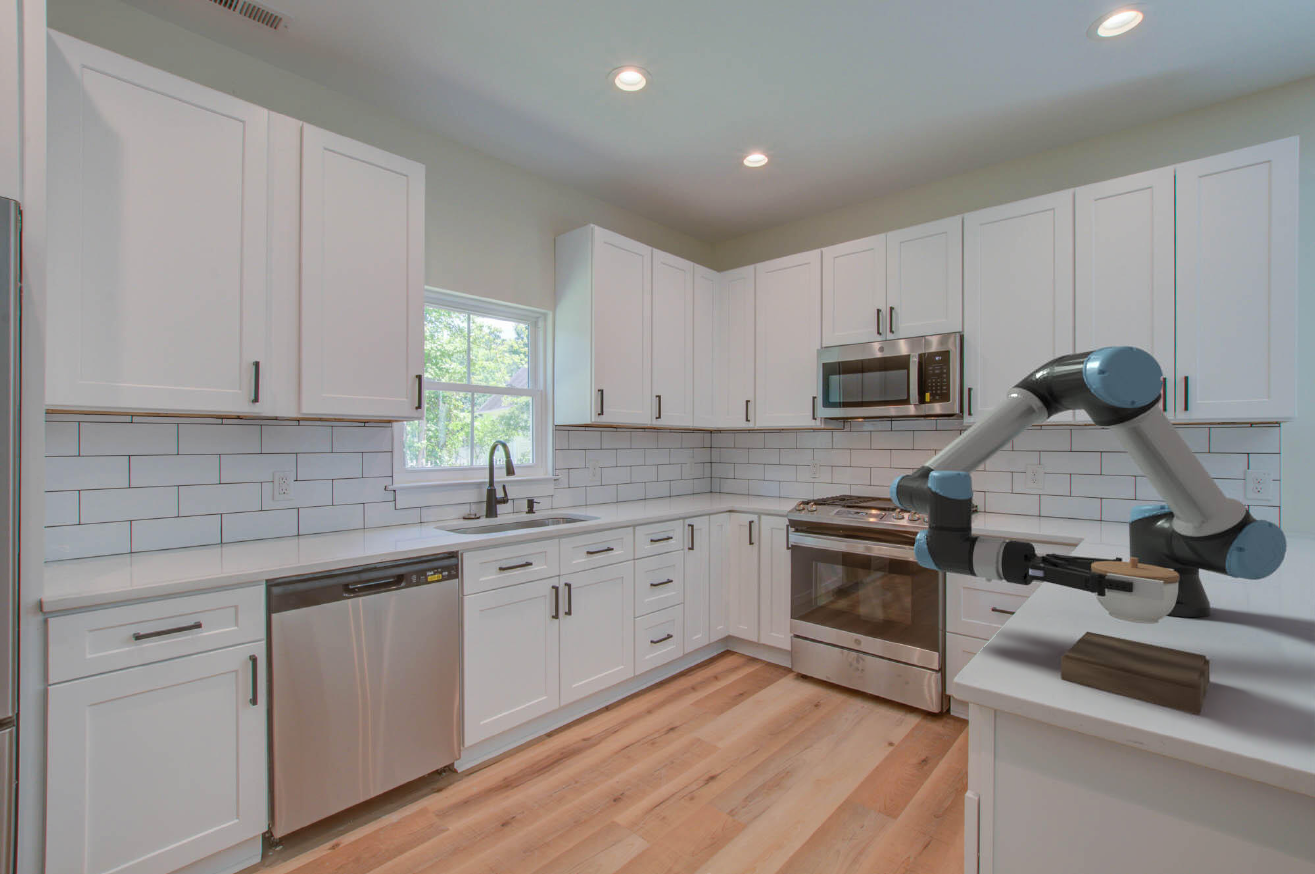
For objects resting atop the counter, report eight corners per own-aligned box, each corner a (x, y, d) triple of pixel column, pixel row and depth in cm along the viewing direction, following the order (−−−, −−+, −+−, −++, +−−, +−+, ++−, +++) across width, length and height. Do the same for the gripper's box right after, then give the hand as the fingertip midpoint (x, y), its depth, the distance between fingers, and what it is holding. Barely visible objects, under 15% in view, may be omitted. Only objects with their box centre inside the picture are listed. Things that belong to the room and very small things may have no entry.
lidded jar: (1197, 631, 85) (1197, 567, 85) (1114, 625, 87) (1114, 563, 87) (1150, 609, 95) (1151, 552, 95) (1077, 605, 97) (1078, 549, 97)
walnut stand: (1084, 652, 102) (1084, 630, 102) (1209, 680, 90) (1209, 655, 90) (1061, 678, 91) (1061, 653, 91) (1199, 714, 80) (1199, 685, 80)
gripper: (1025, 571, 112) (1178, 594, 96) (983, 593, 96) (1157, 625, 80) (1025, 532, 112) (1178, 549, 96) (983, 548, 96) (1157, 571, 80)
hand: (1168, 584), depth 88 cm, fingers closed on lidded jar, 11 cm apart
